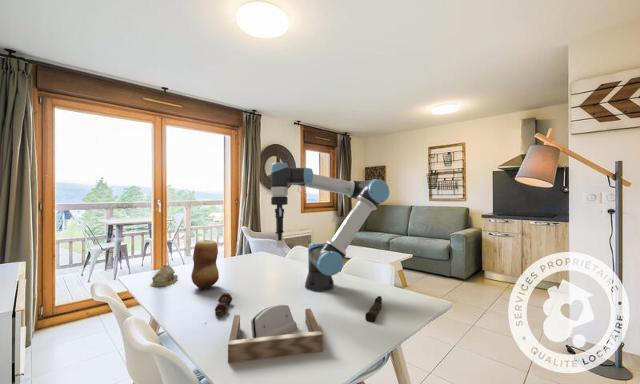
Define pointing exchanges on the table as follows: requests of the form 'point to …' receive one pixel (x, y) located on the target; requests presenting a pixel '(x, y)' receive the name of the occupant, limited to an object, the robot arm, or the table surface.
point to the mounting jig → (275, 342)
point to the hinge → (273, 322)
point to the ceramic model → (164, 277)
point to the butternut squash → (205, 264)
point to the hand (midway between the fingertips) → (279, 247)
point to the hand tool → (374, 310)
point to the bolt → (223, 304)
